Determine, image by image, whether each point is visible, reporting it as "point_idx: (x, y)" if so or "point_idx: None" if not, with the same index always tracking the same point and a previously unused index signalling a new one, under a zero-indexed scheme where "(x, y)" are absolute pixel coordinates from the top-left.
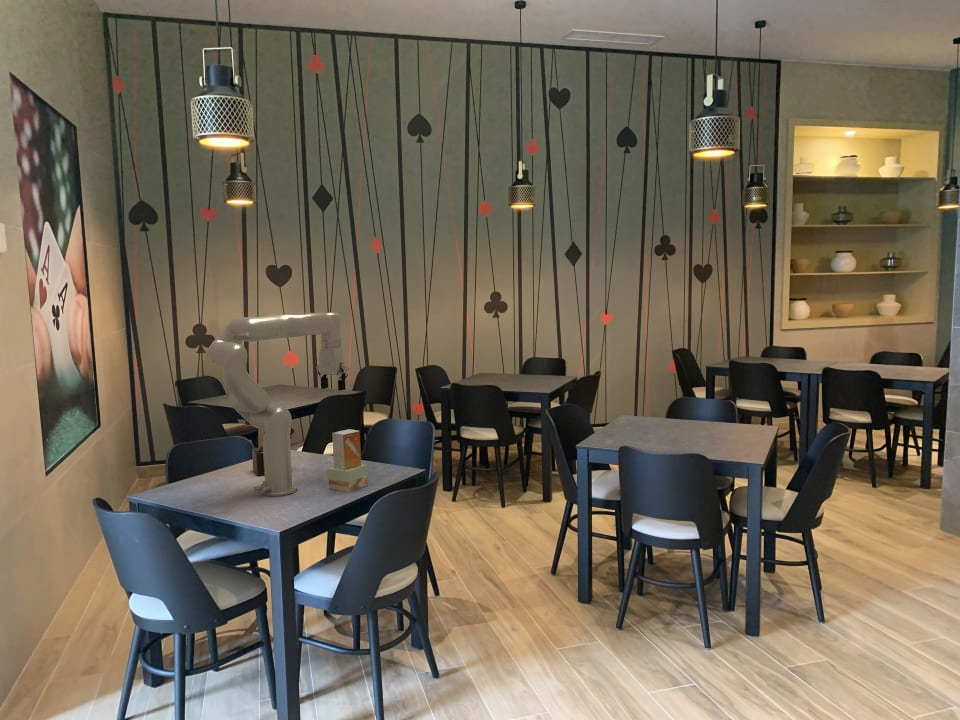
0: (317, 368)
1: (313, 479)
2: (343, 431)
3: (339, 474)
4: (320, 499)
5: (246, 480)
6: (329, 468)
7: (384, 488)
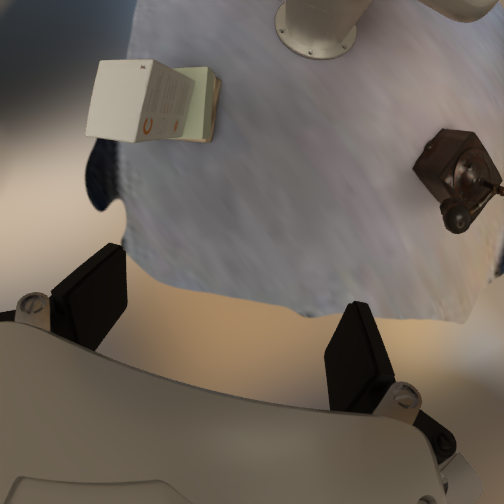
0: (466, 480)
1: (309, 132)
2: (124, 95)
3: None
4: (187, 19)
5: (444, 94)
6: (201, 69)
7: None
